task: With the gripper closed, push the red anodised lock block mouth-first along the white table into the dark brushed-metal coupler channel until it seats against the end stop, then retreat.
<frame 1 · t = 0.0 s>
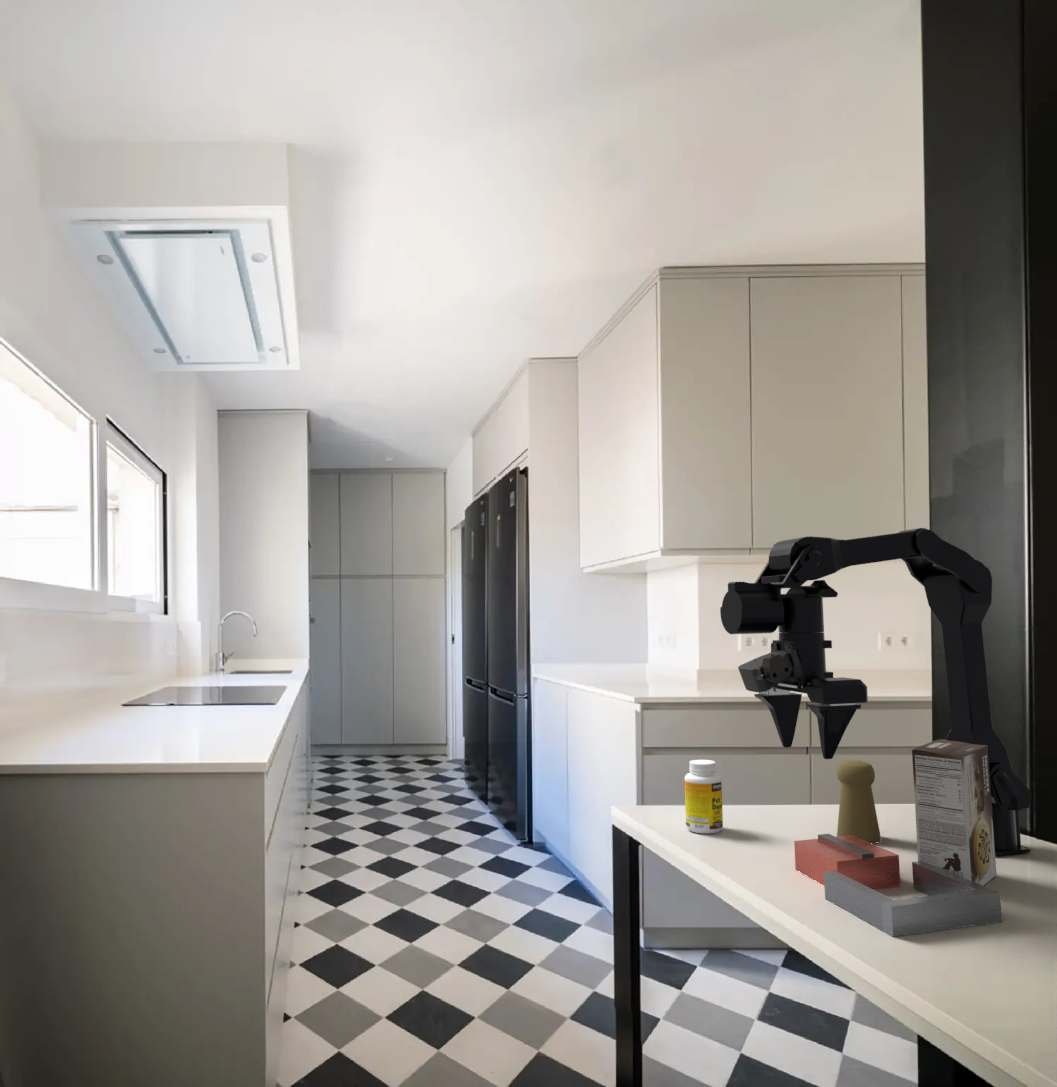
hand: (806, 752, 106), 15 cm above the table, tool pointing down, fingers open, 9 cm apart
coupler channel: (905, 907, 91), on the table
supplement bottle: (704, 831, 124), on the table
olive tapered upright piece: (858, 839, 118), on the table
coffee box: (957, 881, 100), on the table
lock block: (846, 880, 101), on the table
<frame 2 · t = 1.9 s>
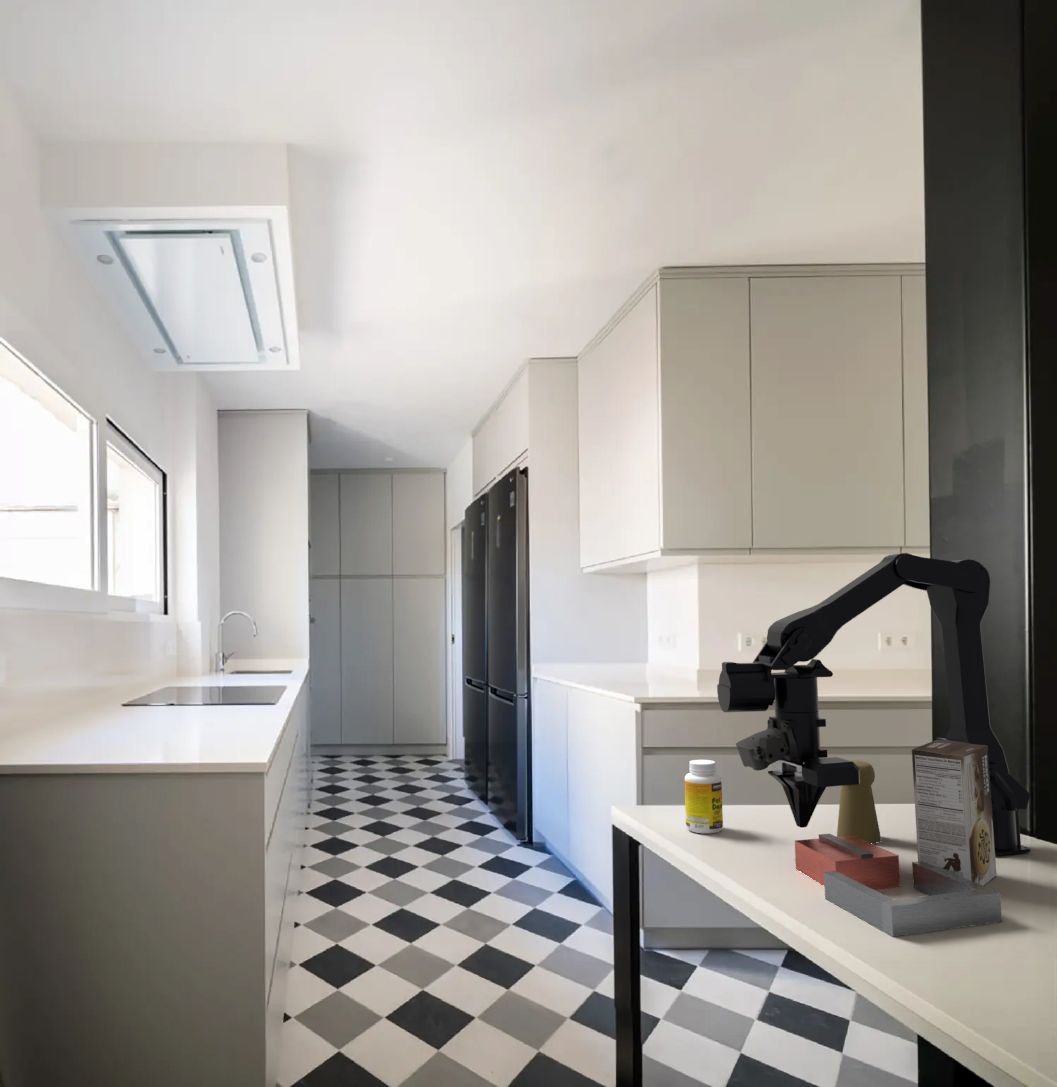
hand: (801, 826, 110), 4 cm above the table, tool pointing down, fingers closed
nothing on the table moved.
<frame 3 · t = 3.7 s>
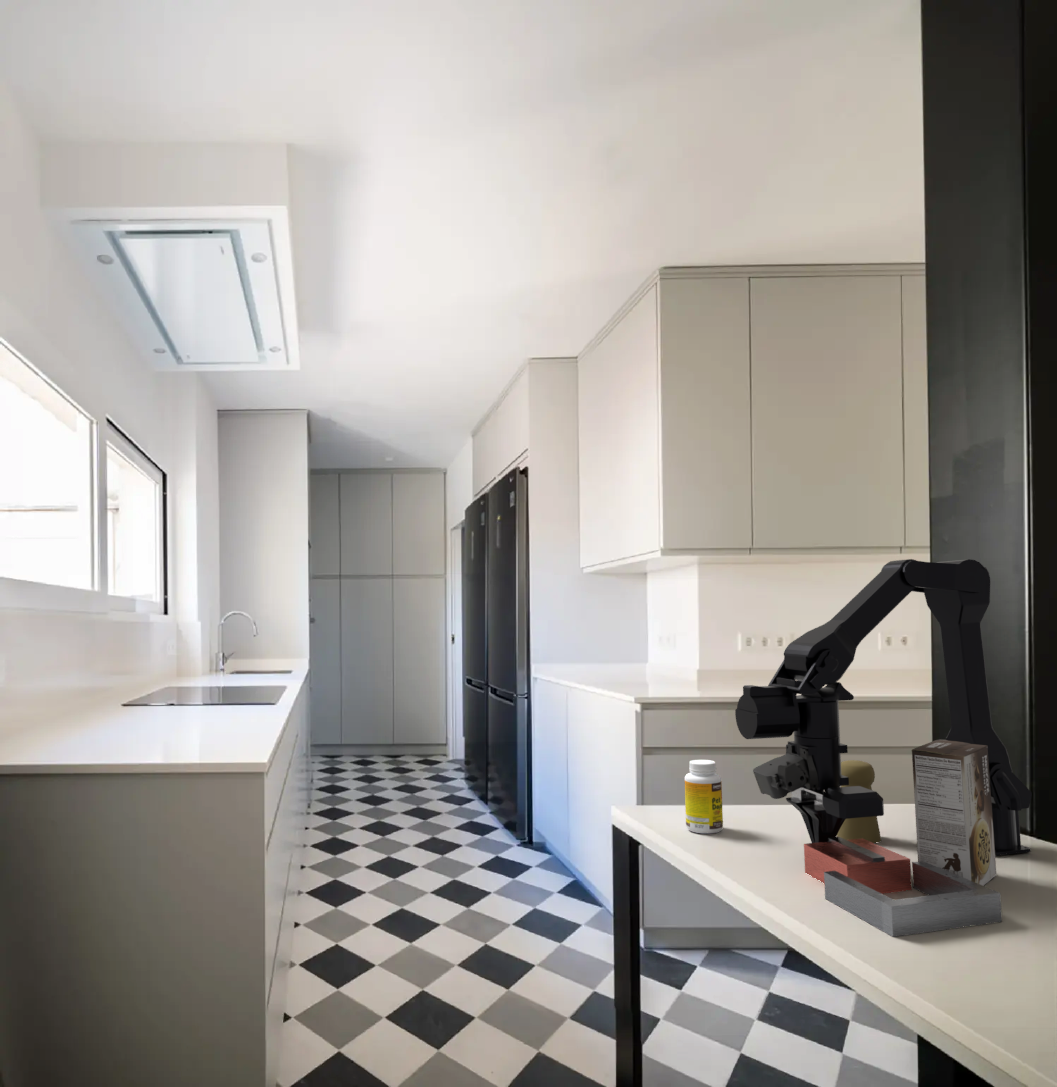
hand: (821, 857, 106), 1 cm above the table, tool pointing down, fingers closed
lock block: (856, 884, 100), on the table
everything else where it was.
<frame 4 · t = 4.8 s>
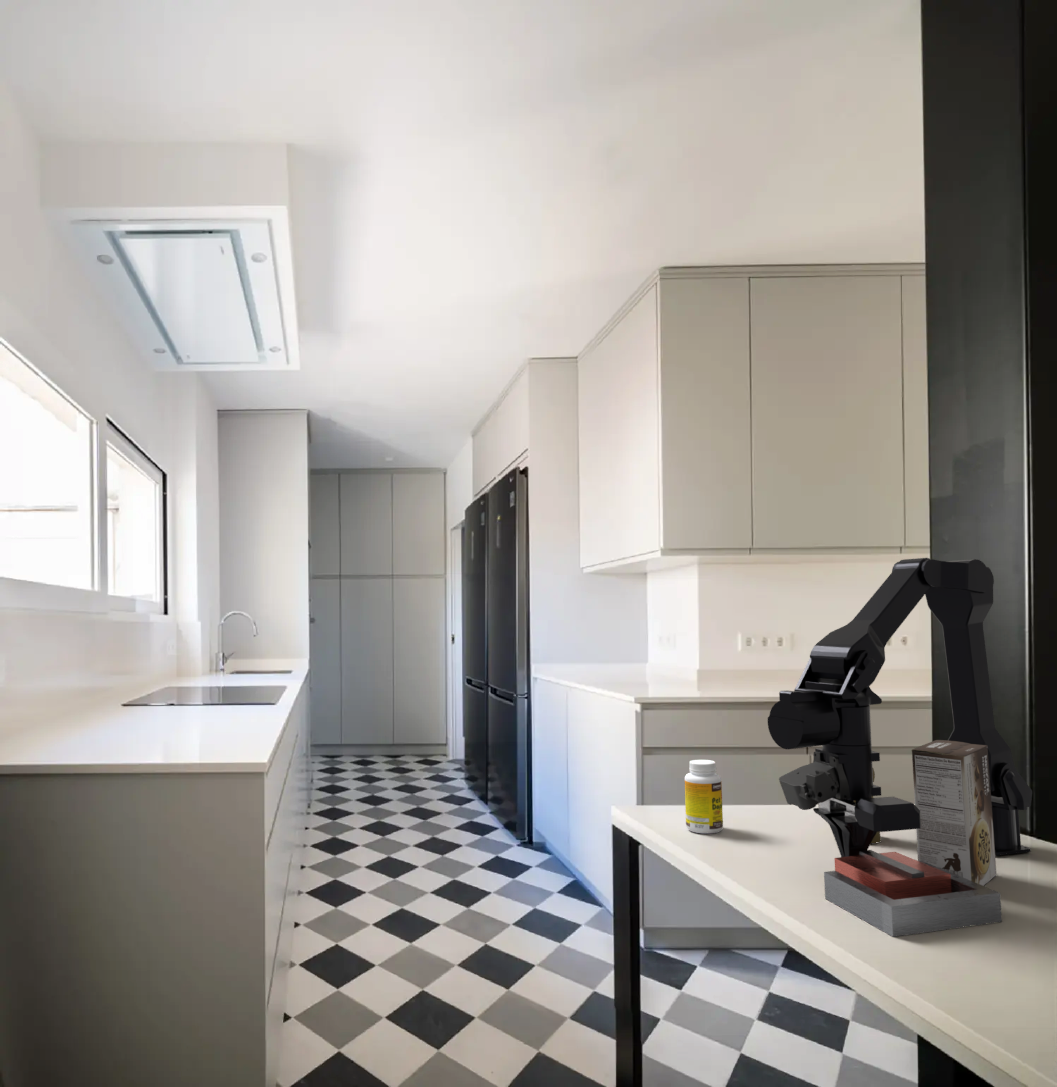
hand: (851, 871, 99), 1 cm above the table, tool pointing down, fingers closed
lock block: (892, 901, 93), on the table, touching gripper
everything else where it was.
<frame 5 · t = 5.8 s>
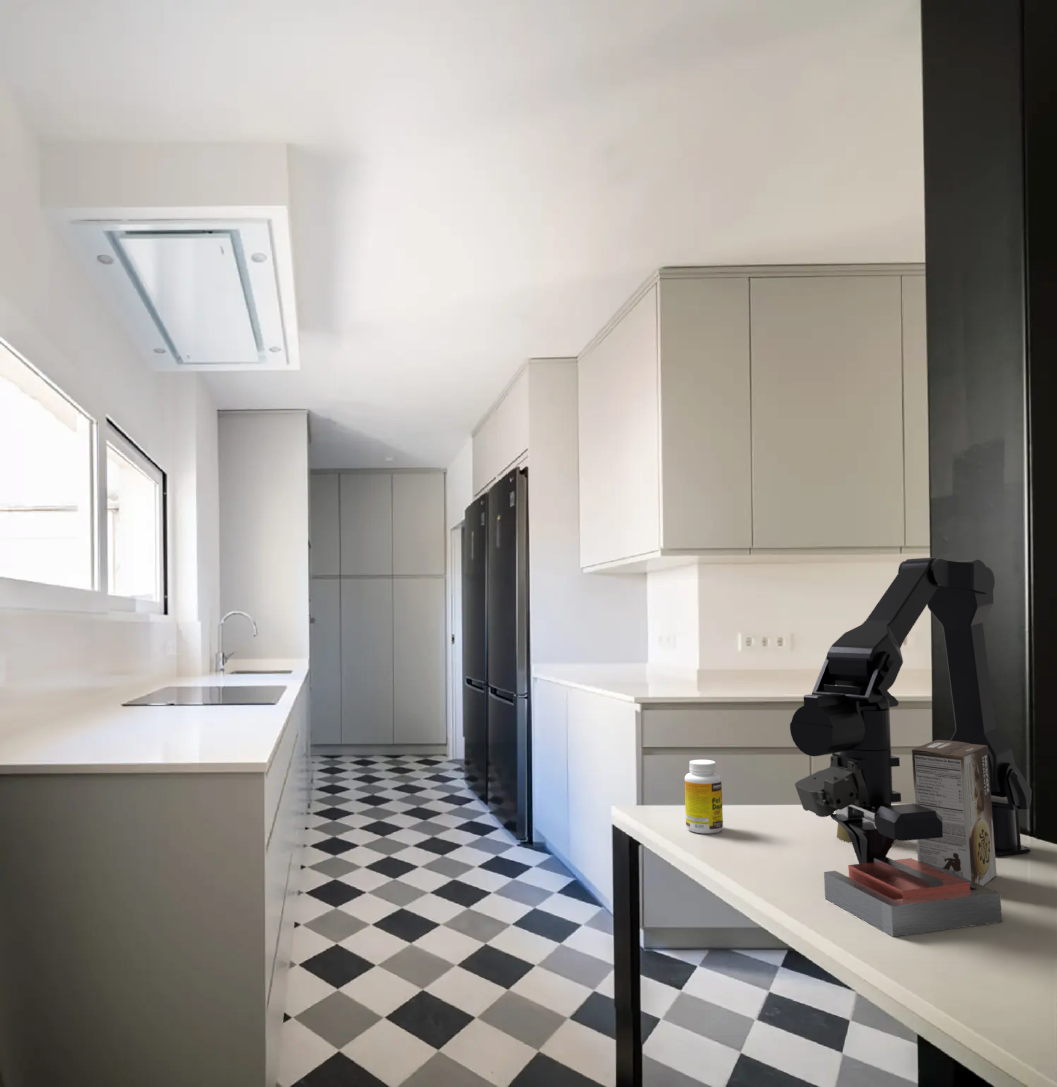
hand: (869, 879, 96), 1 cm above the table, tool pointing down, fingers closed
lock block: (908, 910, 90), on the table, touching coupler channel, gripper
everything else where it was.
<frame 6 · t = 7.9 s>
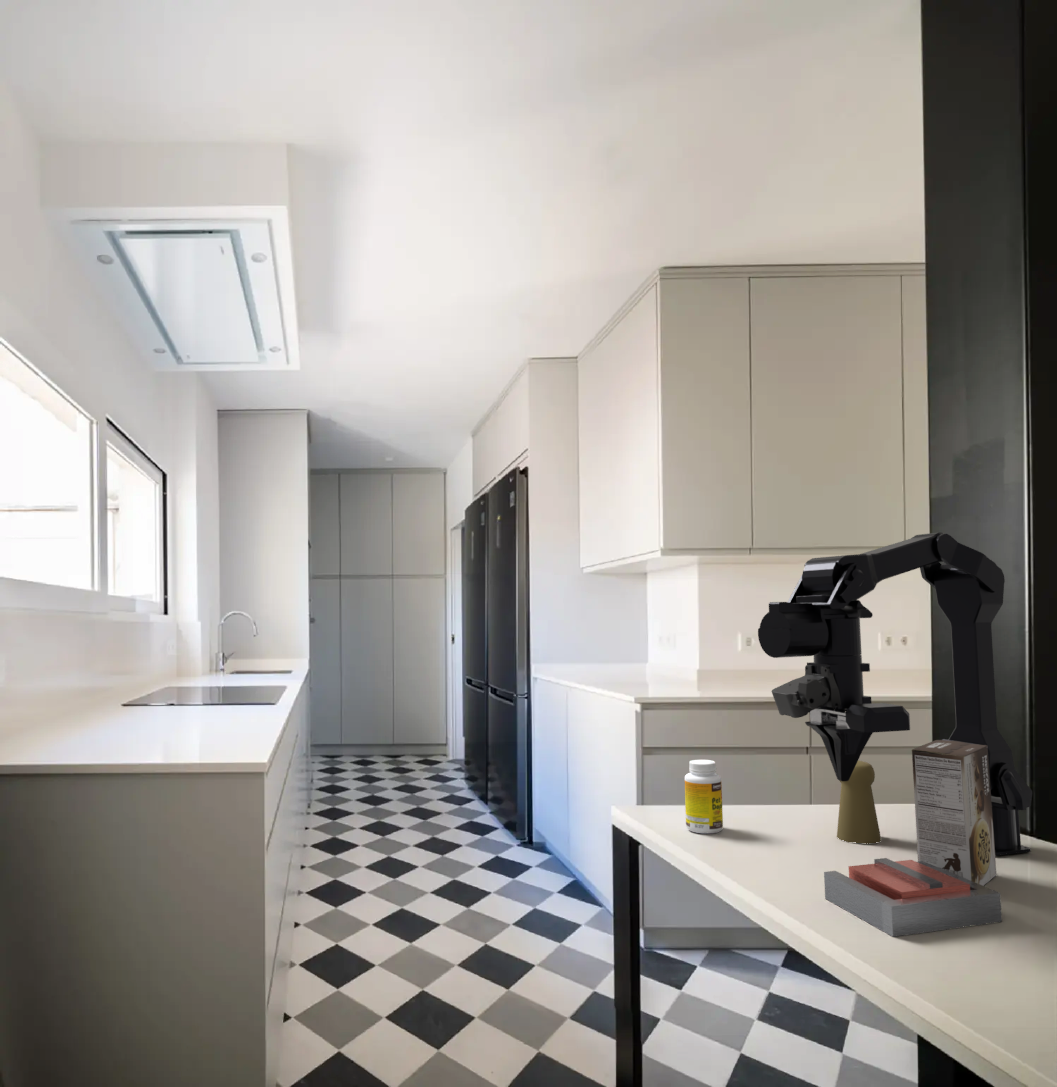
hand: (843, 780, 101), 12 cm above the table, tool pointing down, fingers closed
lock block: (908, 911, 90), on the table
everything else where it was.
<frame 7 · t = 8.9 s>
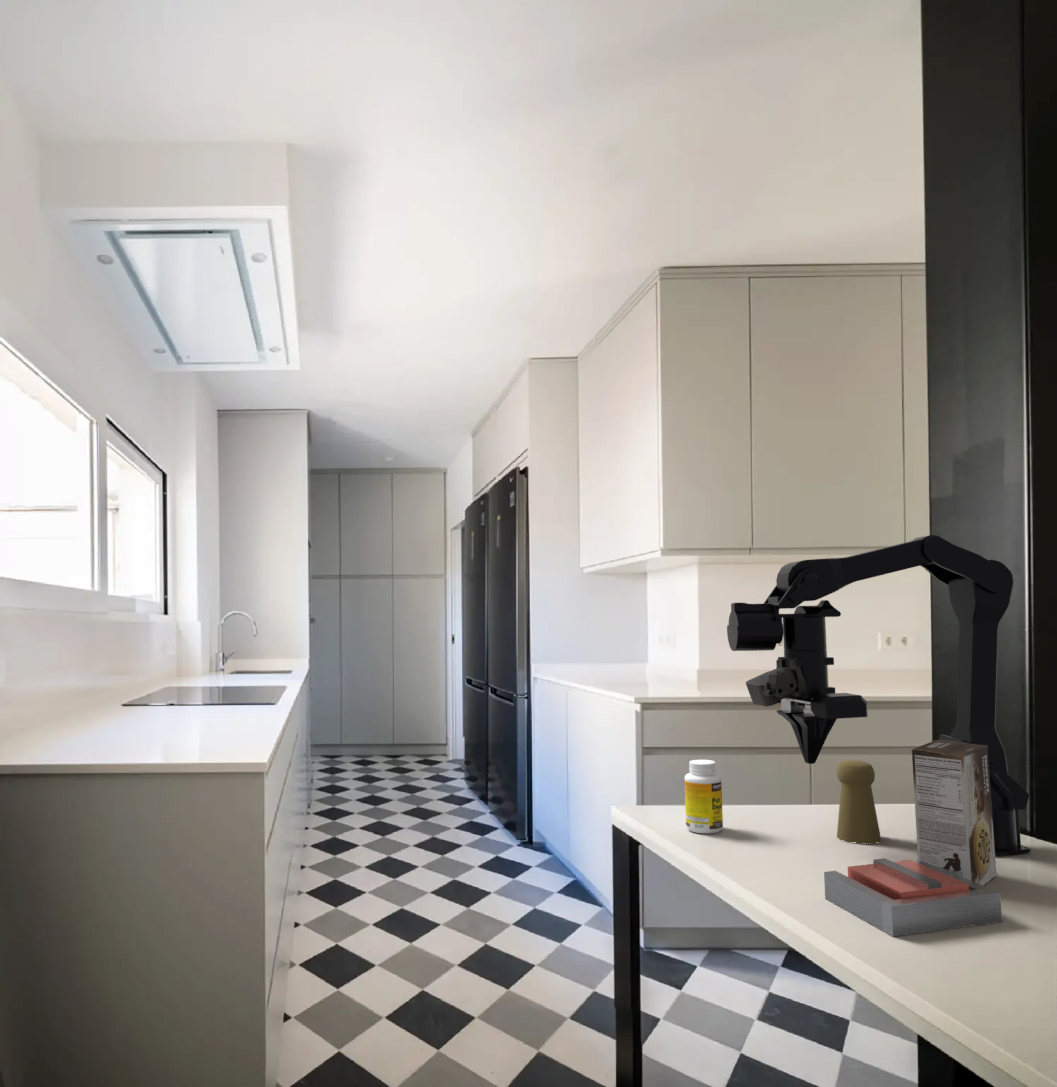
hand: (810, 763, 113), 12 cm above the table, tool pointing down, fingers closed
nothing on the table moved.
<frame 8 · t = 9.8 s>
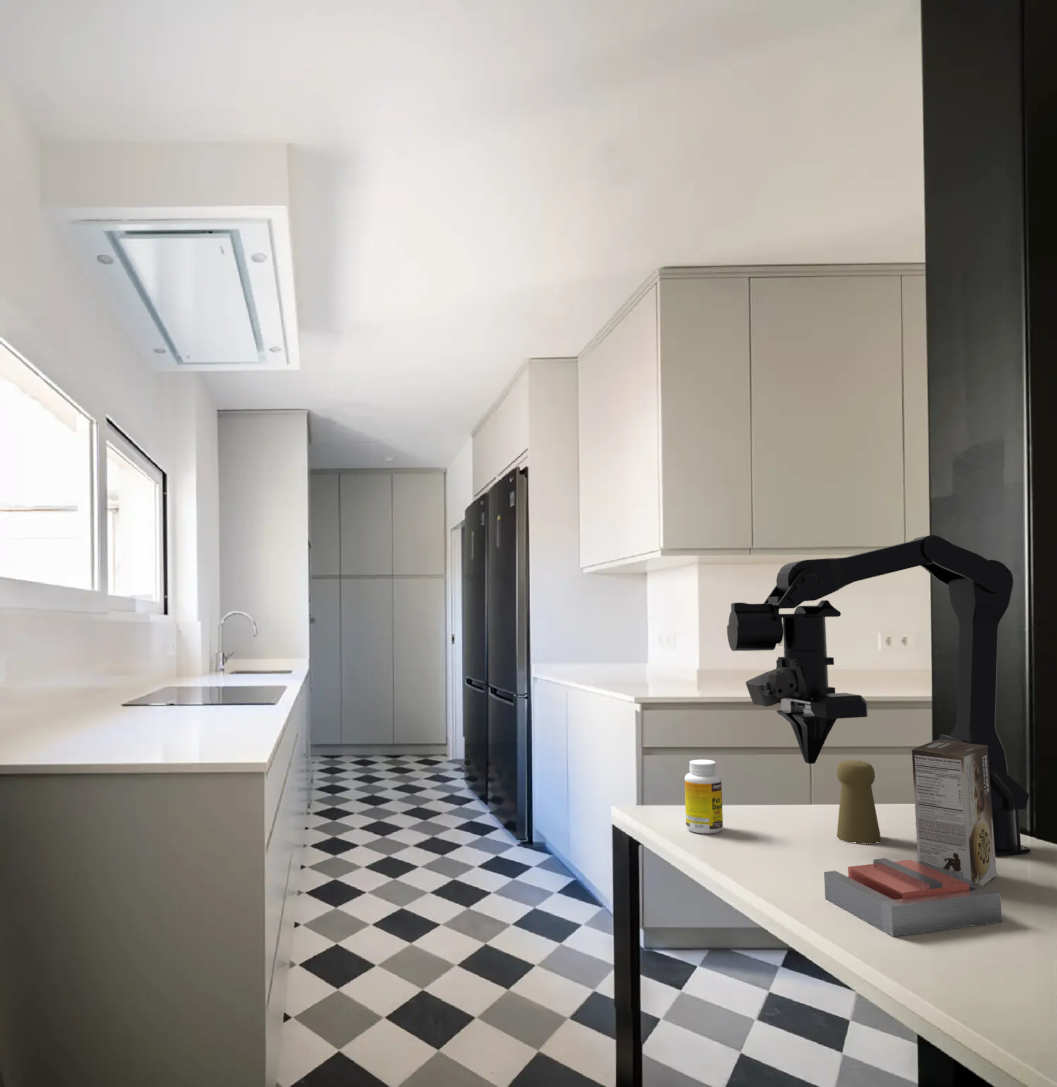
hand: (810, 763, 113), 12 cm above the table, tool pointing down, fingers closed
nothing on the table moved.
at the end: lock block 0.2 cm off-centre on the coupler channel, point 0.0 cm above the coupler channel's base; lock block tilted 0° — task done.
